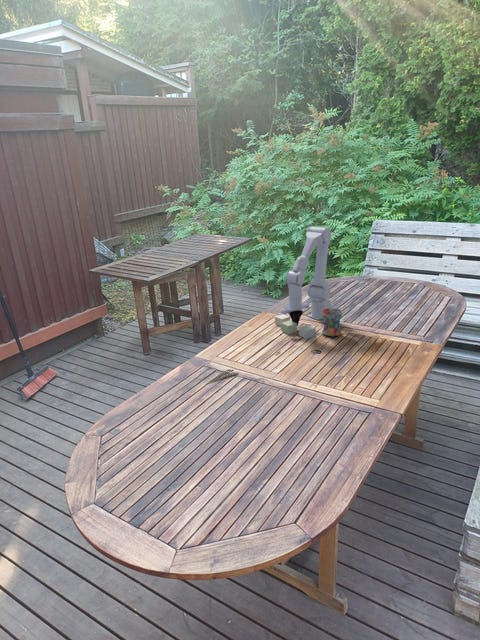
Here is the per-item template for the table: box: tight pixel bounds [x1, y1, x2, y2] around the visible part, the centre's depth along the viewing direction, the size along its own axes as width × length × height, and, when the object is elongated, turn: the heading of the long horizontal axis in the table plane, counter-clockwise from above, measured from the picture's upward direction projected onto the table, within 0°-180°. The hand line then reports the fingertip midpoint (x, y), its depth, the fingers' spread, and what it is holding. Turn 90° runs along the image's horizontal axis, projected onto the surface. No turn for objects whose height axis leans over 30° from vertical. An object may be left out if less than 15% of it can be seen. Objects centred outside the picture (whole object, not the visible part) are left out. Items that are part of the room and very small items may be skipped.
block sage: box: [280, 319, 298, 335], centre depth 208 cm, size 5×5×4 cm
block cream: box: [274, 313, 291, 327], centre depth 216 cm, size 5×5×4 cm
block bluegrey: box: [298, 324, 316, 340], centre depth 202 cm, size 5×5×4 cm
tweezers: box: [205, 368, 239, 385], centre depth 169 cm, size 18×5×2 cm, turn 130°
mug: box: [321, 307, 344, 337], centre depth 202 cm, size 12×9×11 cm
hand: (295, 325), depth 209 cm, fingers closed
